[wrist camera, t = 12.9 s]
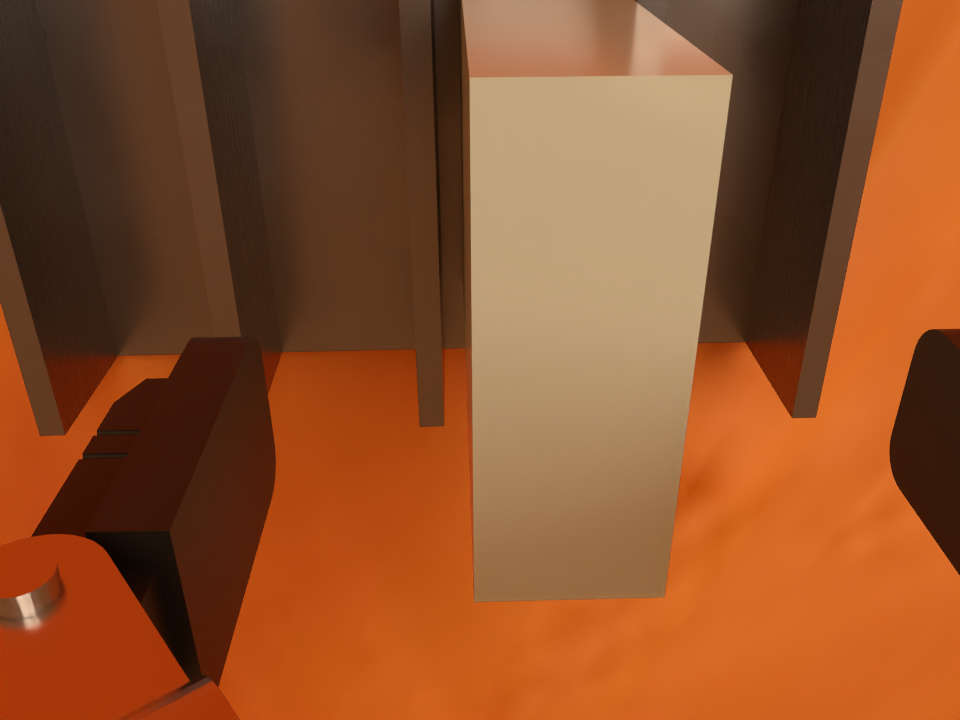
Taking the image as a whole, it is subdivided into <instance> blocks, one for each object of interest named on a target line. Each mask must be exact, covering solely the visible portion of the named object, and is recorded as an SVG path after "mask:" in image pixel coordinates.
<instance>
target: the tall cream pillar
mask: <svg viewBox="0 0 960 720" xmlns="http://www.w3.org/2000/svg"><path fill="white" fill-rule="evenodd" d="M459 19H460V93H461V168H462V243H463V298H464V327H465V356H466V385H467V414H468V443H469V472H470V501H471V529H472V558H473V587H474V602H496V601H537V600H577V599H618V598H659V597H665V589H666V582H667V574H668V566H669V559H670V551H671V544H672V536H673V528H674V521H675V513H676V505H677V498H678V490H679V482H680V475H681V467H682V460H683V452H684V444H685V437H686V429H687V421H688V414H689V406H690V399H691V391H692V383H693V376H694V368H695V360H696V353H697V345H698V337H699V330H700V322H701V315H702V307H703V299H704V292H705V284H706V276H707V269H708V261H709V253H710V246H711V238H712V231H713V223H714V215H715V208H716V200H717V192H718V185H719V177H720V169H721V162H722V154H723V147H724V139H725V131H726V124H727V116H728V108H729V101H730V93H731V85H732V78H733V75H732V74H731V73H730V72H728V71H727V70H726V69H724V68H723V67H722V66H720V65H719V64H718V63H716V62H715V61H714V60H712V59H711V58H710V57H708V56H707V55H706V54H704V53H703V52H702V51H701V50H699V49H698V48H697V47H695V46H694V45H693V44H691V43H690V42H689V41H687V40H686V39H685V38H683V37H682V36H681V35H679V34H678V33H677V32H675V31H674V30H673V29H671V28H670V27H669V26H667V25H666V24H665V23H663V22H662V21H661V20H659V19H658V18H657V17H655V16H654V15H653V14H651V13H650V12H649V11H647V10H646V9H645V8H643V7H642V6H641V5H640V4H638V3H637V2H636V1H634V0H459Z"/></svg>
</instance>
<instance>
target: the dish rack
mask: <svg viewBox="0 0 960 720" xmlns="http://www.w3.org/2000/svg"><path fill="white" fill-rule="evenodd" d="M634 1H636V2H637V3H638V4H640V5H641V6H642V7H643V8H645V9H646V10H647V11H649V12H650V13H651V14H653V15H654V16H655V17H657V18H658V19H659V20H661V21H662V22H663V23H665V24H666V25H667V26H669V27H670V28H671V29H673V30H674V31H675V32H677V33H678V34H679V35H681V36H682V37H683V38H685V39H686V40H687V41H689V42H690V43H691V44H693V45H694V46H695V47H697V48H698V49H699V50H701V51H702V52H703V53H704V54H706V55H707V56H708V57H710V58H711V59H712V60H714V61H715V62H716V63H718V64H719V65H720V66H722V67H723V68H724V69H726V70H727V71H728V72H730V73H731V74H732V75H733V78H732V85H731V93H730V101H729V108H728V116H727V124H726V131H725V139H724V147H723V154H722V162H721V169H720V177H719V185H718V192H717V200H716V208H715V215H714V223H713V231H712V238H711V246H710V253H709V261H708V269H707V276H706V284H705V292H704V299H703V307H702V315H701V322H700V330H699V337H698V343H727V342H745V343H746V344H747V346H748V348H749V349H750V351H751V352H752V354H753V356H754V357H755V359H756V361H757V362H758V364H759V365H760V367H761V369H762V370H763V372H764V374H765V375H766V377H767V378H768V380H769V382H770V383H771V385H772V387H773V388H774V390H775V391H776V393H777V395H778V396H779V398H780V400H781V401H782V403H783V404H784V406H785V408H786V409H787V411H788V412H789V414H790V416H791V417H792V418H815V417H816V415H817V410H818V405H819V400H820V396H821V391H822V386H823V381H824V376H825V372H826V367H827V362H828V357H829V352H830V348H831V343H832V338H833V333H834V328H835V324H836V319H837V314H838V309H839V304H840V300H841V295H842V290H843V285H844V280H845V275H846V271H847V266H848V261H849V256H850V251H851V247H852V242H853V237H854V232H855V227H856V223H857V218H858V213H859V208H860V203H861V199H862V194H863V189H864V184H865V179H866V175H867V170H868V165H869V160H870V155H871V151H872V146H873V141H874V136H875V131H876V127H877V122H878V117H879V112H880V107H881V102H882V98H883V93H884V88H885V83H886V78H887V74H888V69H889V64H890V59H891V54H892V50H893V45H894V40H895V35H896V30H897V26H898V21H899V16H900V11H901V6H902V2H903V0H634ZM0 302H1V306H2V309H3V313H4V316H5V319H6V323H7V326H8V329H9V333H10V336H11V339H12V343H13V346H14V350H15V353H16V356H17V360H18V363H19V366H20V370H21V373H22V376H23V380H24V383H25V386H26V390H27V393H28V397H29V400H30V403H31V407H32V410H33V413H34V417H35V420H36V423H37V427H38V430H39V434H40V436H50V435H66V433H67V432H68V430H69V429H70V427H71V426H72V424H73V423H74V421H75V420H76V418H77V417H78V415H79V414H80V412H81V411H82V409H83V408H84V406H85V405H86V403H87V402H88V400H89V399H90V397H91V396H92V394H93V393H94V391H95V390H96V388H97V387H98V385H99V384H100V382H101V381H102V379H103V378H104V376H105V375H106V373H107V372H108V370H109V369H110V367H111V366H112V364H113V363H114V361H115V360H116V358H117V357H118V356H123V355H169V354H182V352H183V350H184V349H185V347H186V345H187V343H188V341H189V340H190V339H191V338H194V337H256V339H257V340H258V342H259V345H260V348H261V352H262V358H263V365H264V372H265V379H266V386H267V394H268V392H269V389H270V386H271V384H272V381H273V378H274V375H275V372H276V369H277V366H278V363H279V360H280V357H281V354H282V352H309V351H355V350H402V349H416V362H417V382H418V403H419V423H420V427H432V426H444V382H445V349H448V348H465V327H464V298H463V243H462V168H461V93H460V19H459V0H0Z"/></svg>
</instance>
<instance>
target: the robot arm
mask: <svg viewBox="0 0 960 720" xmlns="http://www.w3.org/2000/svg"><path fill="white" fill-rule="evenodd" d="M890 463H891V469H892V473H893V476H894V479H895V481H896V484H897V486H898V487H899V489H900V490H901V492H902V493H903V495H904V496H905V498H906V499H907V500H908V502H909V503H910V505H911V506H912V508H913V509H914V510H915V512H916V513H917V515H918V516H919V518H920V519H921V521H922V522H923V523H924V525H925V526H926V528H927V529H928V531H929V532H930V533H931V535H932V536H933V538H934V539H935V541H936V542H937V543H938V545H939V546H940V548H941V549H942V551H943V552H944V554H945V555H946V556H947V558H948V559H949V561H950V562H951V564H952V565H953V566H954V568H955V569H956V571H957V572H958V574H959V575H960V329H932V330H928V331H927V332H925V333H924V334H923V335H922V336H921V338H920V339H919V341H918V343H917V345H916V347H915V350H914V354H913V358H912V361H911V365H910V369H909V372H908V376H907V380H906V383H905V387H904V391H903V394H902V398H901V402H900V405H899V409H898V413H897V416H896V420H895V424H894V427H893V431H892V435H891V440H890ZM275 468H276V459H275V444H274V436H273V429H272V422H271V415H270V408H269V401H268V394H267V386H266V379H265V372H264V365H263V358H262V352H261V348H260V345H259V342H258V340H257V339H256V337H194V338H191V339H190V340H189V341H188V343H187V345H186V347H185V349H184V350H183V352H182V354H181V356H180V358H179V360H178V361H177V363H176V365H175V367H174V369H173V371H172V372H171V374H170V376H169V378H159V379H145V380H144V381H143V382H141V383H140V384H139V385H137V386H136V387H135V388H133V389H132V390H131V391H129V392H128V393H126V394H125V395H124V396H122V397H121V398H120V399H118V400H117V401H116V402H114V404H113V405H112V407H111V408H110V410H109V412H108V413H107V415H106V416H105V418H104V420H103V421H102V423H101V425H100V426H99V428H98V429H97V436H93V437H92V439H91V441H90V442H89V444H88V446H87V447H86V449H85V450H84V452H83V459H79V460H78V462H77V463H76V465H75V467H74V468H73V470H72V471H71V473H70V475H69V476H68V478H67V480H66V481H65V483H64V484H63V486H62V488H61V489H60V491H59V492H58V494H57V496H56V497H55V499H54V501H53V502H52V504H51V505H50V507H49V509H48V510H47V512H46V514H45V515H44V517H43V518H42V520H41V522H40V523H39V525H38V526H37V528H36V530H35V531H34V533H33V535H32V536H31V537H29V538H25V539H21V540H17V541H14V542H11V543H9V544H6V545H3V546H1V547H0V720H240V719H239V717H238V716H237V714H236V713H235V711H234V710H233V708H232V707H231V705H230V704H229V702H228V701H227V699H226V698H225V697H224V695H223V694H222V692H221V691H220V689H219V688H218V686H219V682H220V679H221V675H222V672H223V668H224V665H225V661H226V658H227V654H228V651H229V647H230V644H231V640H232V637H233V633H234V630H235V626H236V622H237V619H238V615H239V612H240V608H241V605H242V601H243V598H244V594H245V591H246V587H247V584H248V580H249V577H250V573H251V569H252V566H253V562H254V559H255V555H256V552H257V548H258V545H259V541H260V538H261V534H262V531H263V527H264V524H265V520H266V517H267V513H268V509H269V506H270V502H271V499H272V495H273V490H274V483H275Z"/></svg>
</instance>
